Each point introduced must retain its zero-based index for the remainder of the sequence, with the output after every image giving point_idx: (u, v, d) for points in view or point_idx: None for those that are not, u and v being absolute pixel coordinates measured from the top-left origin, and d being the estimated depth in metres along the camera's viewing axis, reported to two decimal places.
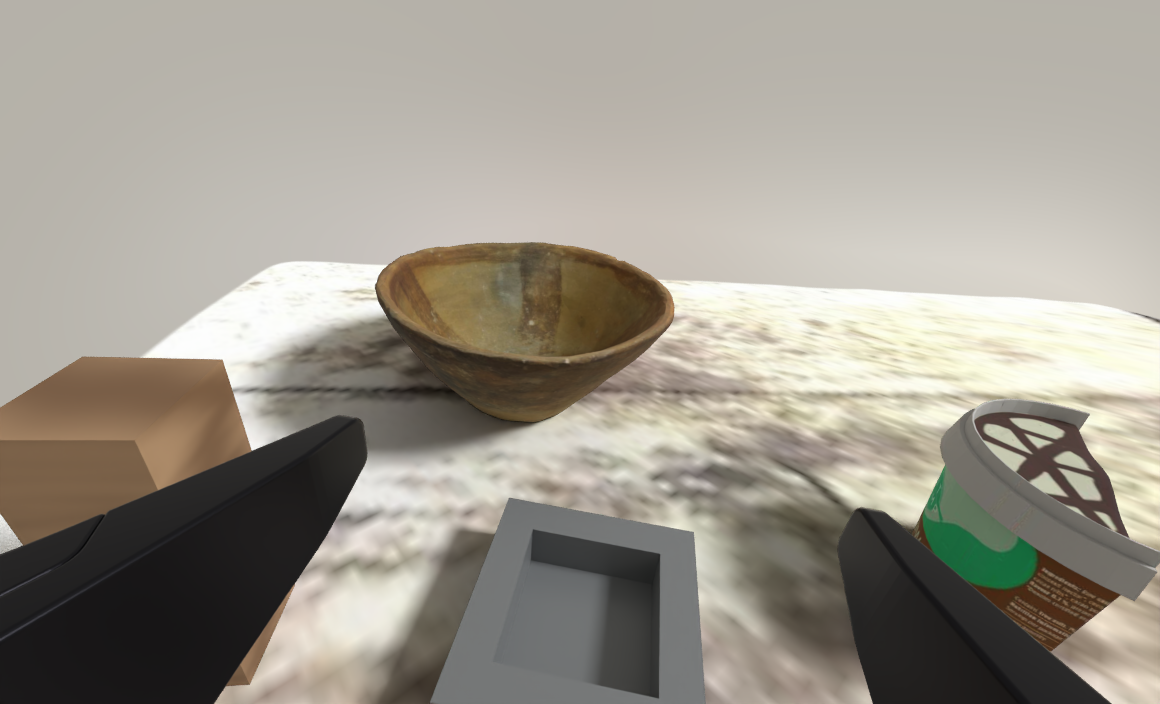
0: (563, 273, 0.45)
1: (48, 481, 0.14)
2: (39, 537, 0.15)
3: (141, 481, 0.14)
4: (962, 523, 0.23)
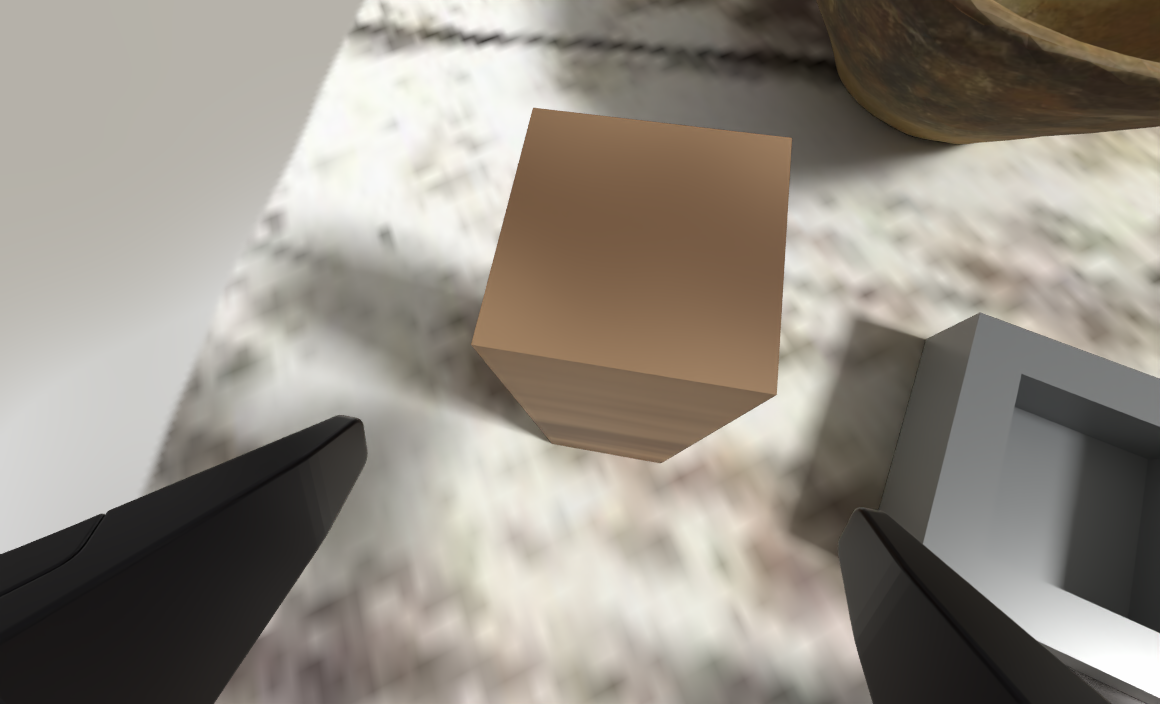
0: None
1: (588, 387, 0.08)
2: (539, 402, 0.11)
3: (725, 410, 0.08)
4: None
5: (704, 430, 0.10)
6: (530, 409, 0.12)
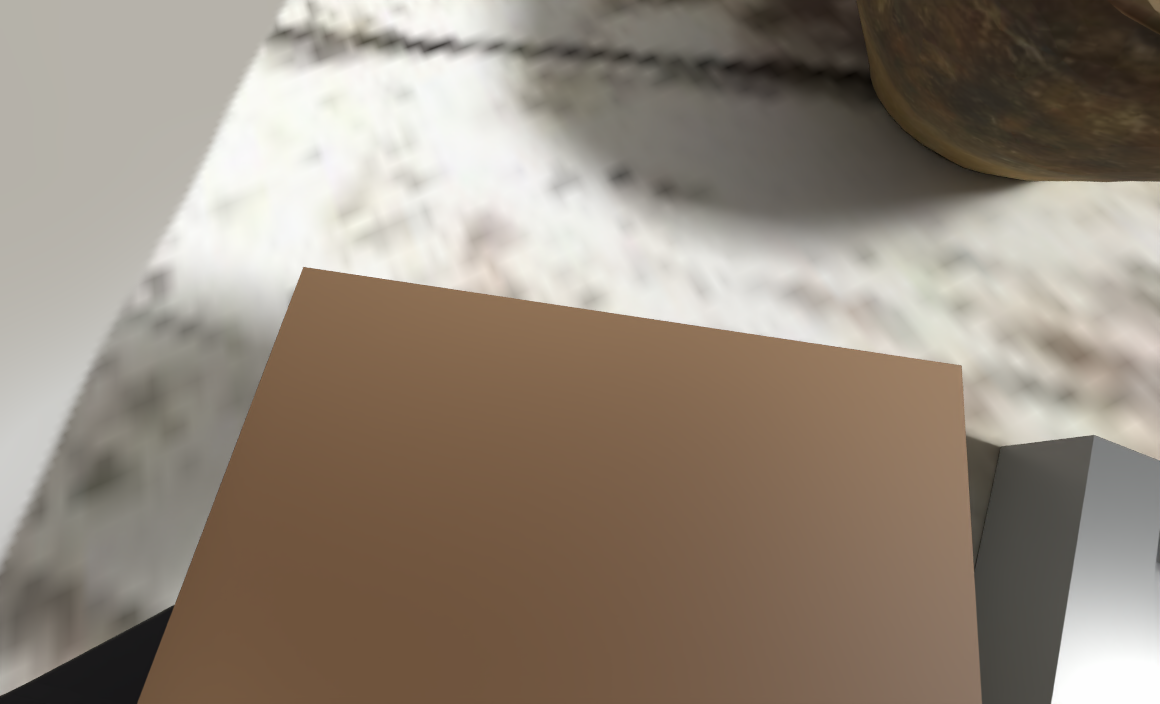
0: None
1: None
2: None
3: None
4: None
5: None
6: None
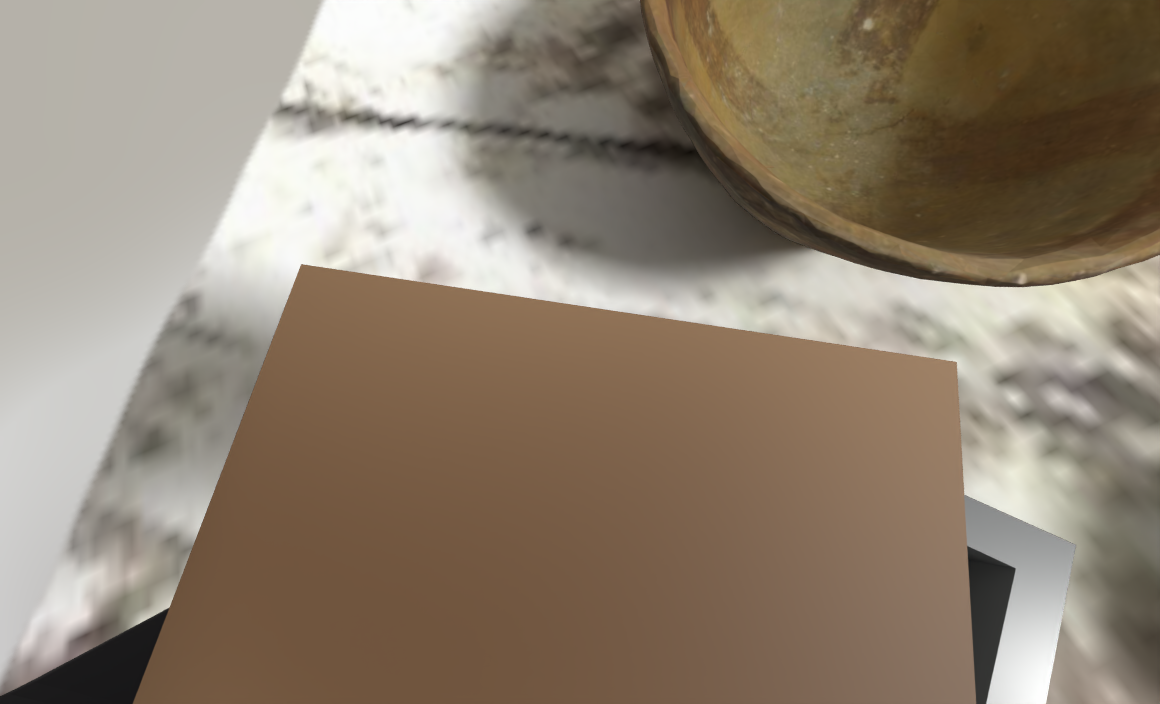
0: None
1: None
2: None
3: None
4: None
5: None
6: None
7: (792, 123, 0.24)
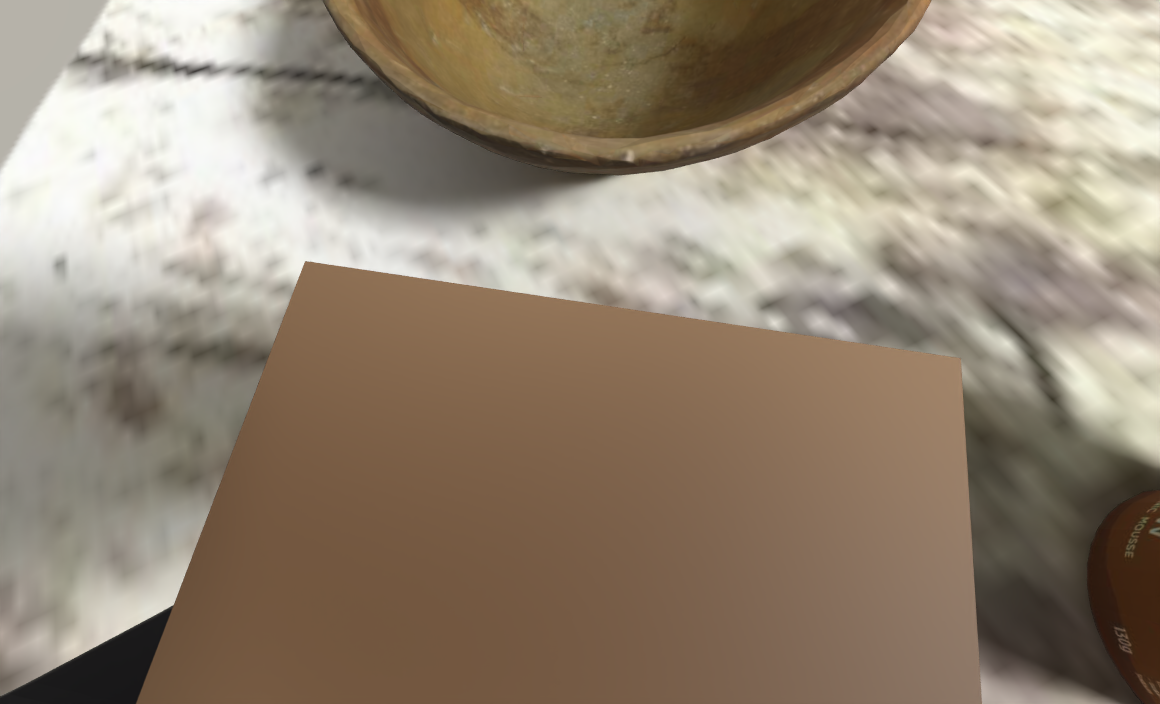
0: None
1: None
2: None
3: None
4: None
5: None
6: None
7: (569, 55, 0.24)
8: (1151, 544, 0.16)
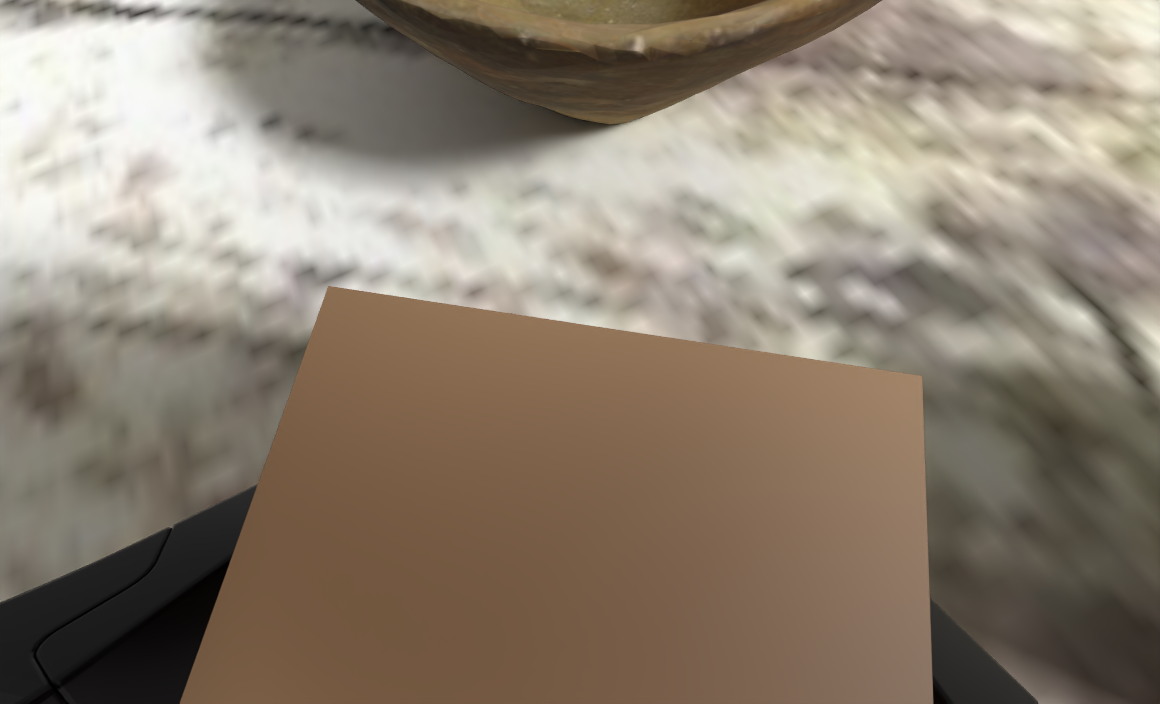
0: None
1: None
2: None
3: None
4: None
5: None
6: None
7: None
8: None
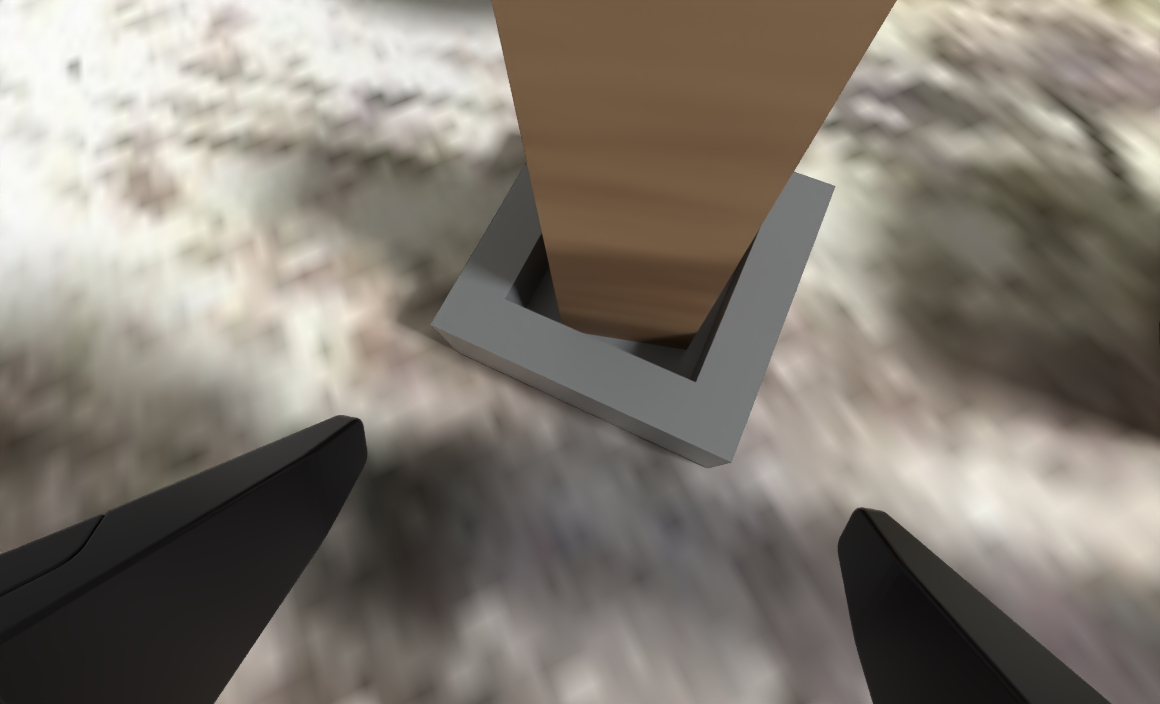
0: None
1: (632, 57, 0.06)
2: (557, 165, 0.09)
3: (820, 78, 0.06)
4: None
5: (768, 192, 0.08)
6: (544, 204, 0.10)
7: None
8: None
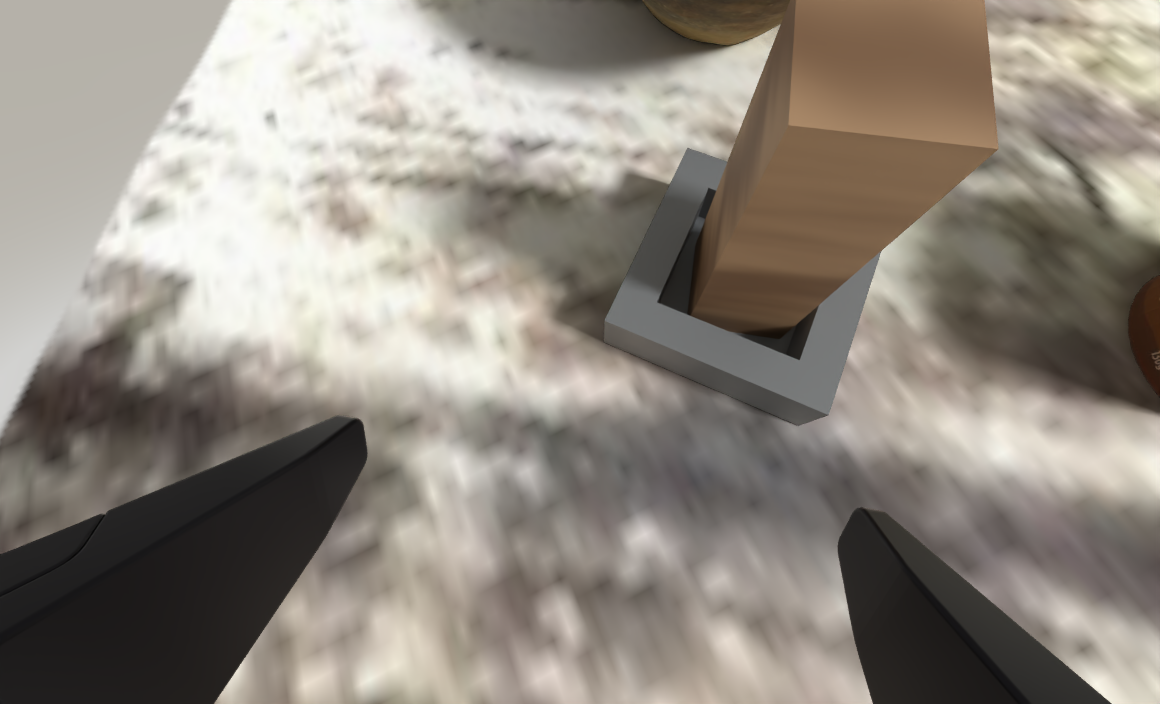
0: None
1: (836, 178, 0.12)
2: (758, 223, 0.14)
3: (933, 191, 0.12)
4: None
5: (886, 239, 0.14)
6: (733, 243, 0.16)
7: None
8: None
